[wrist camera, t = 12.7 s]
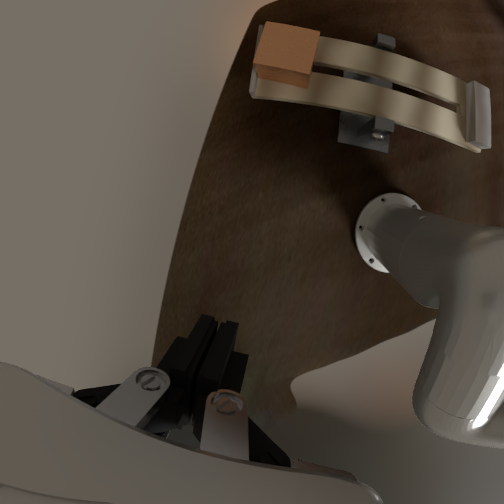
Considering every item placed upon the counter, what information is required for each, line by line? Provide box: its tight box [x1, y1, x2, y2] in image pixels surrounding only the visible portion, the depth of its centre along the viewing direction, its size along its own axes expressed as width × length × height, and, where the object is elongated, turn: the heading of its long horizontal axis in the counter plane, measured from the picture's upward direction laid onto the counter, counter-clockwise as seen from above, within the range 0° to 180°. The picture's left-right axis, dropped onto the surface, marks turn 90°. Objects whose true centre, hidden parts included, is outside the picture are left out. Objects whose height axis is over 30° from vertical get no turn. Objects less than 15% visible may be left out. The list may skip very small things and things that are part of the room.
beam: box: [249, 25, 491, 153], centre depth 26 cm, size 32×10×4 cm, turn 83°
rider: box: [253, 21, 320, 89], centre depth 26 cm, size 6×6×6 cm
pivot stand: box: [337, 33, 395, 154], centre depth 30 cm, size 8×16×10 cm, turn 173°
